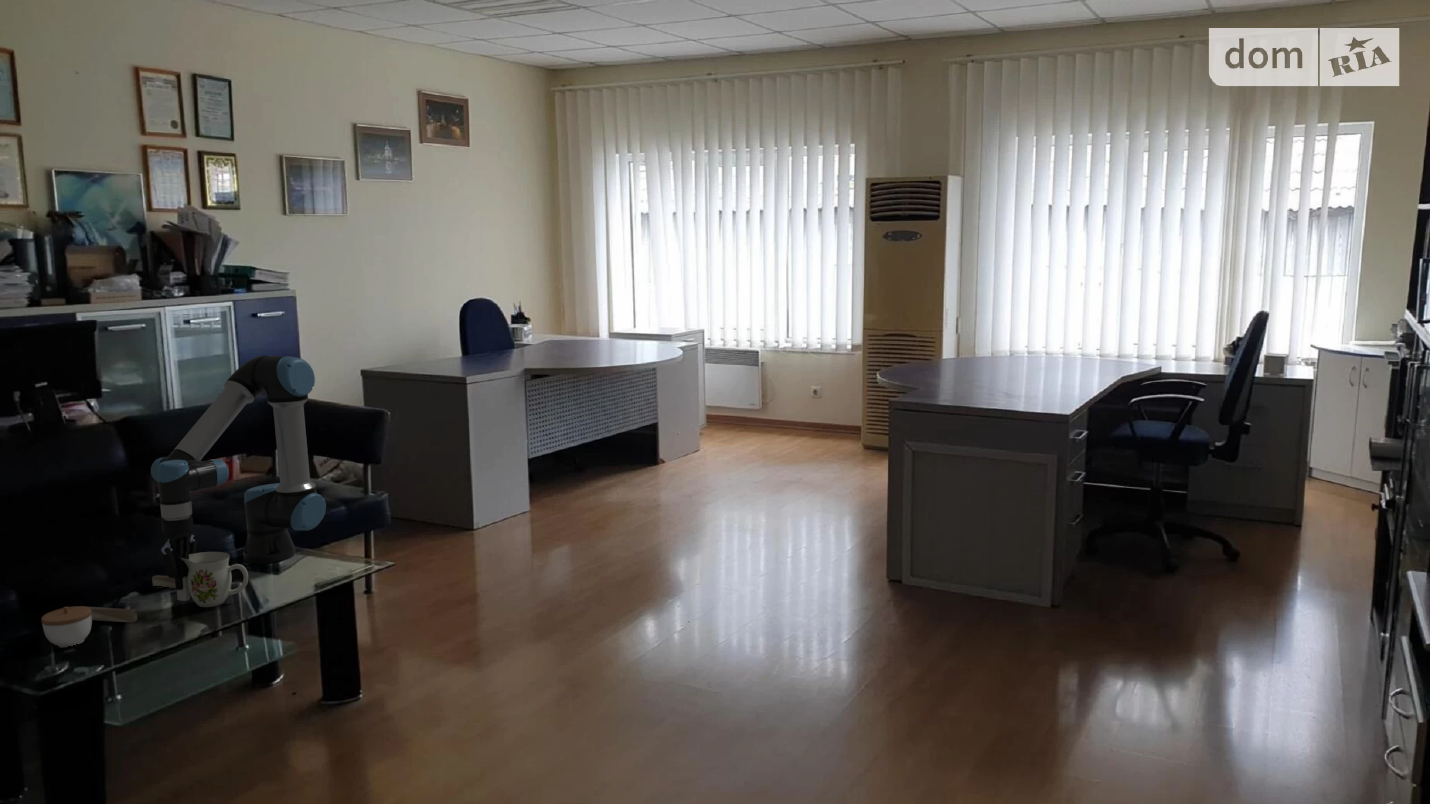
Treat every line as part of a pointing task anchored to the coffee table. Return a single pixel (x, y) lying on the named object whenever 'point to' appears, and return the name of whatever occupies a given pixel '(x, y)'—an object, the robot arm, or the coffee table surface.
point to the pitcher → (212, 578)
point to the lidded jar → (67, 625)
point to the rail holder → (128, 614)
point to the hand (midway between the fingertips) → (183, 599)
